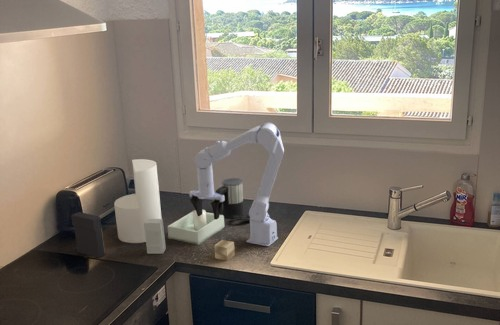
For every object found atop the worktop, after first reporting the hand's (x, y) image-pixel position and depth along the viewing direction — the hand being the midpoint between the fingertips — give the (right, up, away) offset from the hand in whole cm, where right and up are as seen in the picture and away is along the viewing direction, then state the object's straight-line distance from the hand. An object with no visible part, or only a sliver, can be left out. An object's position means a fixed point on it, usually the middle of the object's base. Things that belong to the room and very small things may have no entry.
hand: (208, 216), depth 202 cm
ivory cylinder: (-4, -5, +11) cm, 13 cm away
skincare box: (-18, -12, -6) cm, 23 cm away
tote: (-5, -7, +9) cm, 12 cm away
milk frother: (+11, -3, +22) cm, 25 cm away
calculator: (-42, -13, -5) cm, 44 cm away
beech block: (+7, -13, -12) cm, 19 cm away
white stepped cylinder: (-27, -8, +10) cm, 30 cm away
